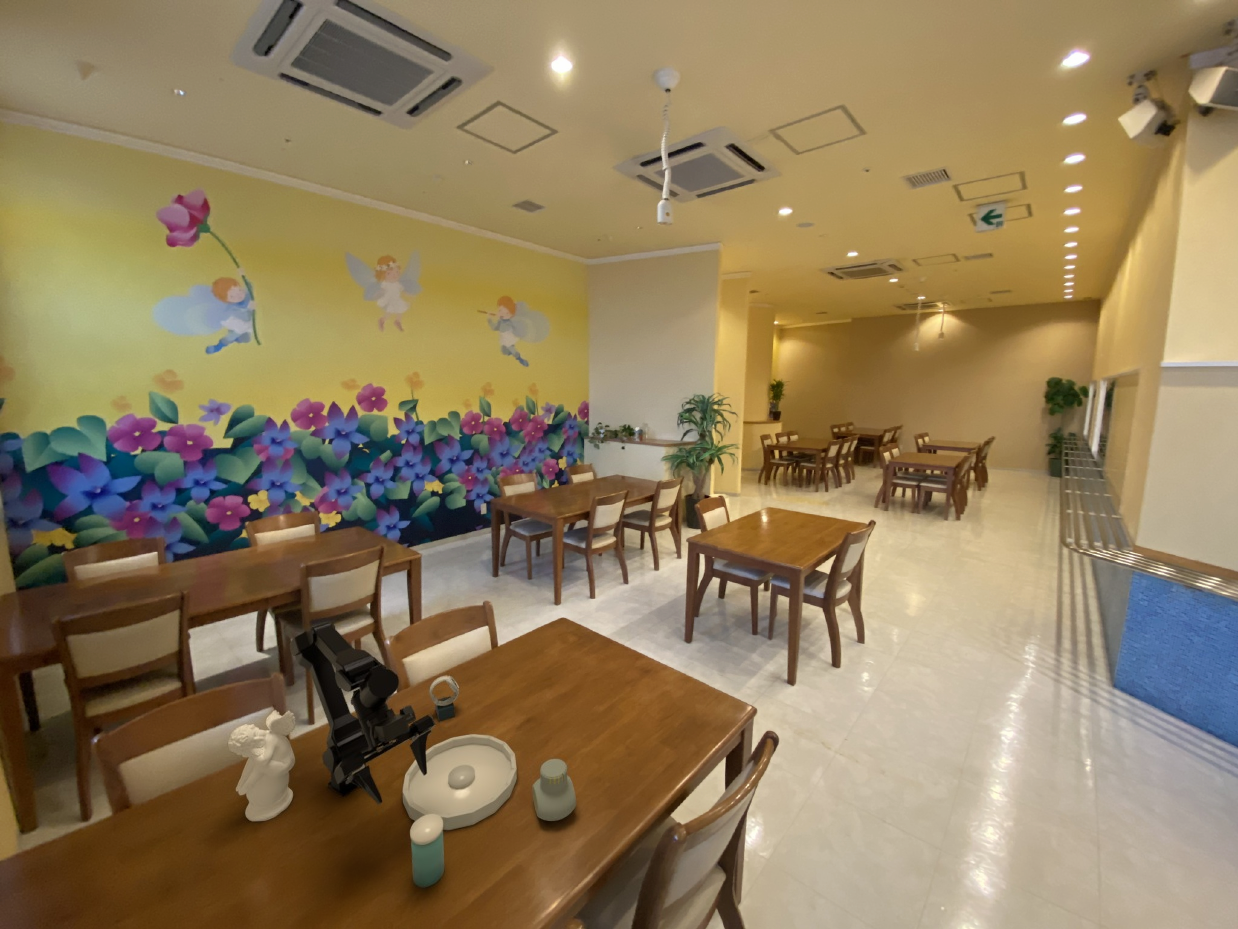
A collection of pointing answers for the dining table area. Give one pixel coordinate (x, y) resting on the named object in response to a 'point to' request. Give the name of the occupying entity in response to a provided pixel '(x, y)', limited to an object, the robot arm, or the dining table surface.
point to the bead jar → (427, 850)
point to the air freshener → (553, 791)
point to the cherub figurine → (265, 765)
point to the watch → (445, 705)
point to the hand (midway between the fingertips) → (404, 788)
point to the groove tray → (461, 780)
